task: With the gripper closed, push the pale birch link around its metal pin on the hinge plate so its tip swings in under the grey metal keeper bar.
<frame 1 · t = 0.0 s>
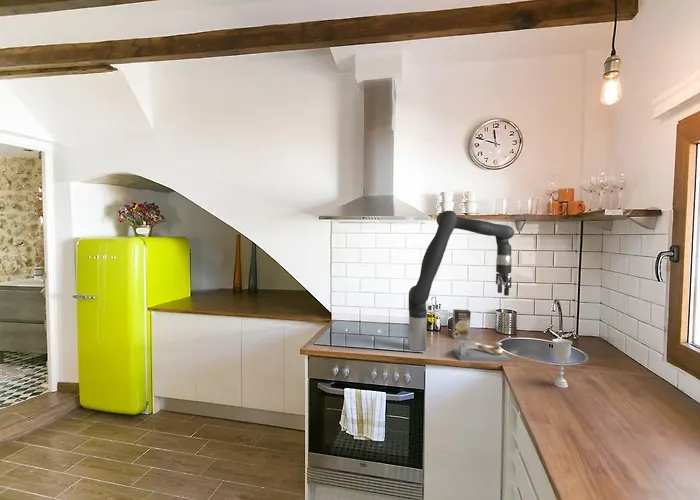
hand: (503, 294, 205), 29 cm above the countertop, tool pointing down, fingers open, 8 cm apart
link: (485, 348, 196), point 3 cm above the countertop, hinge at -50.0°
hinge plate: (479, 355, 194), on the countertop
chalice: (560, 385, 157), on the countertop
keeper: (462, 357, 191), resting on hinge plate
coffee box: (461, 337, 228), on the countertop
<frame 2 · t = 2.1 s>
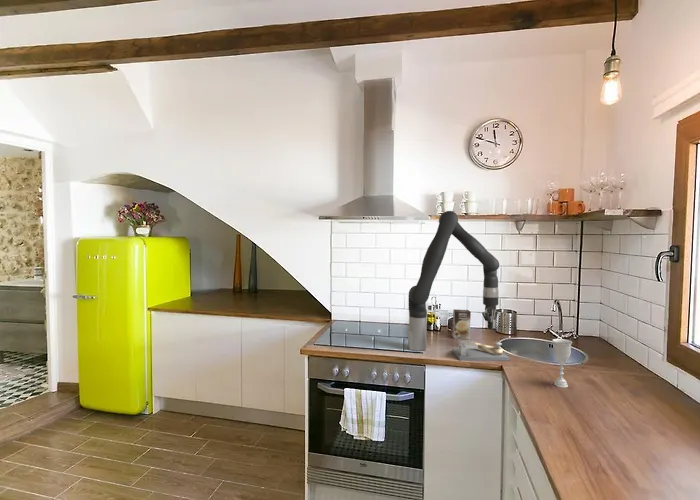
hand: (490, 328, 202), 12 cm above the countertop, tool pointing down, fingers closed
nothing on the countertop moved.
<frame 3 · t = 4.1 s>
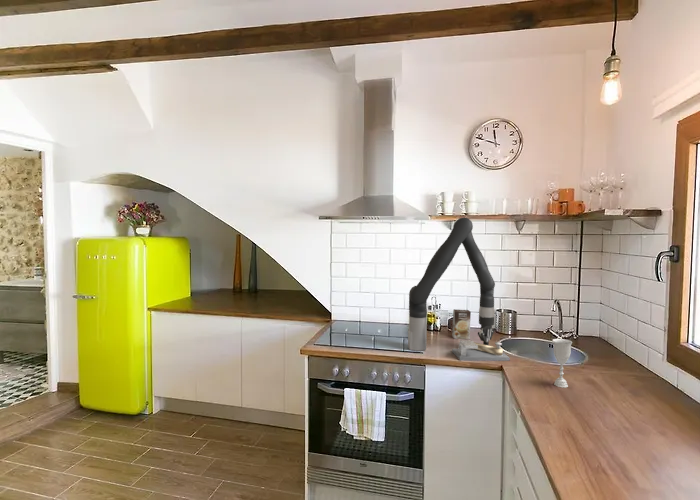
hand: (485, 348, 200), 2 cm above the countertop, tool pointing down, fingers closed
link: (485, 348, 196), point 3 cm above the countertop, hinge at -49.9°, touching gripper
everything else where it was.
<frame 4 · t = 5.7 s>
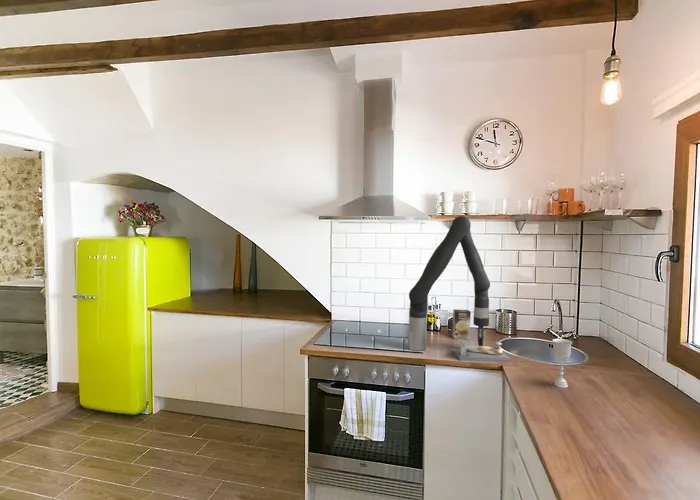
hand: (480, 349, 198), 2 cm above the countertop, tool pointing down, fingers closed
link: (483, 349, 194), point 3 cm above the countertop, hinge at -26.5°, touching gripper
everything else where it was.
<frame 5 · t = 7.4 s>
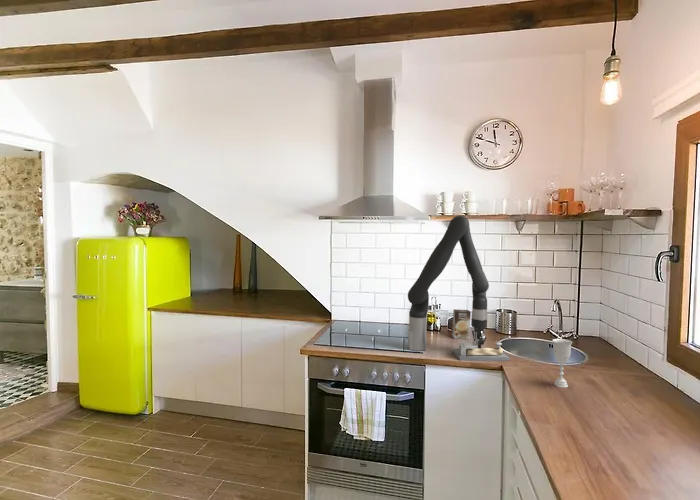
hand: (478, 351, 194), 2 cm above the countertop, tool pointing down, fingers closed
link: (484, 351, 190), point 3 cm above the countertop, hinge at 2.4°, touching gripper
everything else where it was.
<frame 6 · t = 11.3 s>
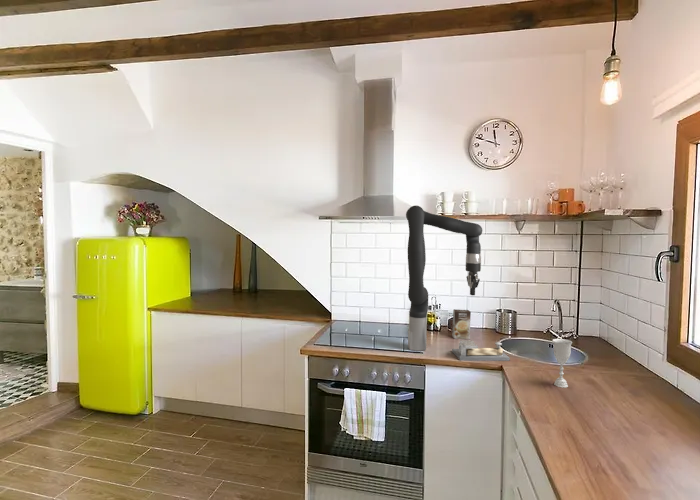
hand: (472, 295, 203), 29 cm above the countertop, tool pointing down, fingers closed
link: (484, 351, 190), point 3 cm above the countertop, hinge at 2.7°
everything else where it was.
at the end: link at +3° (first picture: -50°); coffee box moved 0.2 cm from its start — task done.
